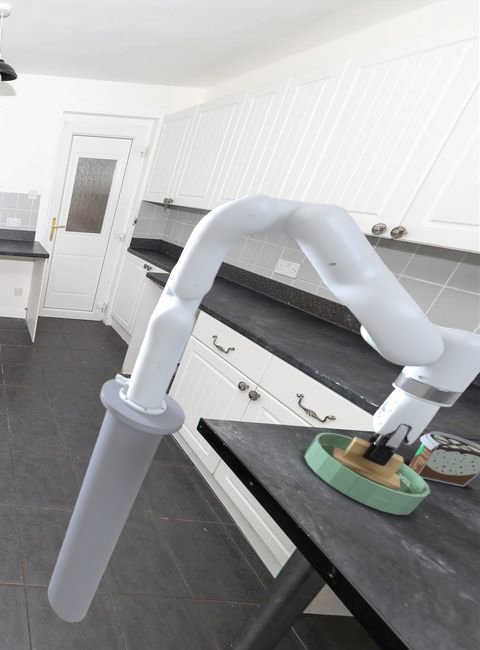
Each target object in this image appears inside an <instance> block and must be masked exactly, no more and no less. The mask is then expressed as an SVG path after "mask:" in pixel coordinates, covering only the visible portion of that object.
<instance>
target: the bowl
mask: <svg viewBox="0 0 480 650" xmlns="http://www.w3.org/2000/svg"><path fill="white" fill-rule="evenodd" d="M353 439H354V437H350V436H347V435H343V434H339V433H333V432H321V433H318V434H317V435H315V437H314V438H313V439H312V441H311V443H310V444H309V446H308V447H307V448H306V450H305V452H304V459H305V461H306V464H307V465H308V466H309V468H310V469H311V470H312V471H313V472H314V473H315V474H316V475H317V476H318V477H319V478H320V479H322V481H324V482H325V483H327V484H328V485H329V486H331V487H332V488H333V489H334V490H336V491H338V492H340V493H341V494H343V495H345V496H346V497H348V498H350V499H352V500H354V501H356V502H357V503H360V504H362V505H365V506H367V507H369V508H372V509H375V510H378V511H381V512H383V513H389V514H392V515H397V516H403V515H407V516H408V515H410V514H411V513H413V512H414V511H415V510H416V509H417V508H418V507H419V506H420V504H421V503H422V502H423V501H424V500H425V499H427V497H428V496H429V495H430V494H431V490H430V485H429V484H428V483H427V482H426V481H425V480H424V479H425V478H422V477H421V476H420V475H419V474H417V473H416V472H415V471H414V470H412V469H411V468H410V467H408V466H409V465H407V464H406V463H405V462H403V464H402V465H401V466H400V467H399V468H398V470H397V471H396V472H395V474H397V475H399V479H400V487H401V488H400V489H399V490H398V491H395V490H392V489H389V488H387V487H384V486H381V485H379V484H376V483H374V482H372V481H370V480H368V479H366V478H364V477H362V476H360V475H358V474H356V473H355V472H353V471H351V470H350V469H348V468H346V467H345V466H343V465H342V464H340V463H339V462H338V461H336V460H335V459H334V458H332V457H331V454H332V450H333V448H334V447H337V448H339V449H342V450H344V451H345V450H346V449H347V448H348V446H349V445H350V443H351V442H352V441H353Z"/></svg>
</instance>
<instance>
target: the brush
mask: <svg viewBox="0 0 480 650" xmlns="http://www.w3.org/2000/svg"><path fill="white" fill-rule="evenodd" d="M370 444H371V443H369V442H368V440H365V439H362V438H360V437H357V436H354V437H353V441H352V442H351V443H350V445H349V446H348V448H347V449H346V450H345V451H344V450H342V449H339V448H337V447H334V448H333V450H332V454H331V457H332V458H334V459H335V460H336V461H338V462H339V463H340V464H342V465H343V466H345V467H346V468H348V469H350V470H351V471H353V472H355V473H356V474H358V475H360V476H362V477H364V478H366V479H368V480H370V481H372V482H374V483H376V484H379V485H381V486H384V487H387V488H389V489H392V490H395V491H398V490H399V489H400V488H401V487H400V479H399V475H397V474H395V472H396V471H397V470H398V468H399V467H400V466H401V465H402V464H403V463H405V462H404V461H405V460H404V456H403V455H402V456H401V455H399V454H397V453H396V452H395V453H394V455H393V456H392V457H391V458H390V460H389V461H388V462H387V463H386V465H385V466H381V465H379V464H376V463H374V462H372V461H370V460H367V459H365V458H363V454H364V452H365V451H366V450H367V448H368V447H369V446H370Z"/></svg>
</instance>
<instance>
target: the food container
mask: <svg viewBox="0 0 480 650" xmlns="http://www.w3.org/2000/svg"><path fill="white" fill-rule="evenodd" d="M419 440H420V442H421V444H420V446H419V447H418V449H417V451H416V453H415V455H414V456H413V458H412V459H411V461H410V462H409V464H408V465H407V466H408V467H410V468H411V469H412V470H414V471H415V472H416V473H417V474H419V475H420V476H421V477H422V478H423V479H425V480H430V481H435V482H439V483H443V484H449V485H454V486H459V487H465V486H467V485H468V484H469V483H470V482H471V481H472V480H474V478H476V477H477V476H479V474H480V444H478V443H475V442H473V441H471V440H468V439H465V438H463V437H460V436H458V435H454V434H450V433H447V432H443V431H436V430H435V431H430V432H427V433H425V434H423V435H422V436H421V437H420V438H419Z"/></svg>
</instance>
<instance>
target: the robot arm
mask: <svg viewBox="0 0 480 650" xmlns="http://www.w3.org/2000/svg"><path fill="white" fill-rule="evenodd" d="M252 235H260V236H261V235H262V236H266V237H270V238H271V237H272V238H276V239H283V240H288V241H295V242H296V243H297V245H298V246H299V248H300V249H301V250H302V252H303V254H304V255H305V256H306V258H307V259H308V261H309V262H310V264H311V265H312V267H313V268H314V270H315V271H316V272H317V274H318V276H319V277H320V279H321V280H322V281H323V283H324V284H325V286H326V287H327V288H328V289H329V291H330V292H331V294H333V295H334V296H335V297H336V298H337V299H338V300H339V301H340V302H341V303H342V304H343V305H345V306H346V307H347V309H349V311H350V312H351V313H352V314H353V316H354V317H355V318H356V319H357V321H358V322H359V323H360V325H361V326H360V334H361V336H362V338H363V339H364V341H365V342H366V343H367V344H369V346H370V347H372V348H373V349H374V350H375V351H377V353H379V355H380V356H381V357H383V358H384V359H385V360H387V361H388V362H390V363H393V364H396V365H399V366H403V369H402V370H401V372H400V373H399V374H398V376H397V377H396V379H395V380H394V382H392V387H393V388H394V390H392V392H391V393H390V394H389V396H388V397H387V398H386V399H385V400H384V402H383V403H382V404H381V405H380V407H379V408H378V409H377V410H376V412H375V413H374V414H373V416H372V423H373V424H372V428H373V431H374V434H373V435H371V437H370V438H369V439H368V440H367V442H369V443H371V444H370V446H369V447H368V448H367V450H366V451H365V452H364V454H363V458H365V459H367V460H370V461H372V462H374V463H376V464H379V465H381V466H385V465H386V463H387V462H388V461H389V460H390V458H391V457H392V456H393V455H394V453H395V454H396V452H397V450H398V449H399V448H400V446H401V445H402V444H403V445H404V446H411V445H413V443H414V442H416V440H417V439H418V438H419V437H420V435H421V434H422V433H423V432H424V431H425V429H426V428H427V427H428V425H429V424H430V422H431V421H432V420H433V418H434V417H435V416H436V414H437V413H438V411H439V410H440V408H441V407H443V408H445V407H446V408H450V407H452V406H453V405H454V404H455V403H456V402H457V400H458V399H459V398H460V397H461V396H462V394H463V393H464V392H465V390H466V389H467V388H468V387H469V386H470V384H471V383H472V382H473V381H474V380H475V378H476V377H477V375H479V374H480V334H479V333H475V332H472V331H468V330H465V329H460V328H454V327H448V326H447V327H445V326H439V325H435V324H432V322H431V321H430V319H429V318H428V316H427V315H426V314H425V312H424V311H423V309H422V308H421V307H420V306H419V304H418V303H417V302H416V301H415V299H414V298H413V297H412V296H411V294H410V293H409V292H408V291H407V290H406V289H405V288H404V287H403V285H402V284H401V282H400V281H399V280H398V279H397V277H396V276H395V274H394V273H393V272H392V271H391V270H390V269H389V268H388V266H387V265H386V264H385V262H384V261H383V259H382V258H381V257H380V255H379V254H378V253H377V251H376V250H375V248H374V247H373V246H372V244H371V243H370V241H369V240H368V238H367V237H366V235H365V234H364V232H363V231H362V229H361V228H360V226H359V225H358V224H357V222H356V221H355V220H354V218H353V216H352V215H351V214H350V213H349V212H348V211H347V210H346V209H344V208H343V207H341V206H338V205H335V204H328V203H318V202H317V203H316V202H305V201H298V200H290V199H283V198H279V197H271V196H268V195H265V194H250V195H245V196H242V197H240V198H237V199H234V200H230V201H228V202H225V203H223V204H221V205H219V206H217V207H215V208H214V209H212V210H211V211H209V212H208V213H207V214H206V215H204V217H203V218H201V219H200V221H199V222H198V223H197V224H196V226H195V227H194V229H193V231H192V232H191V234H190V236H189V238H188V240H187V242H186V244H185V246H184V248H183V250H182V252H181V254H180V256H179V259H178V261H177V263H176V264H175V265H174V267H173V269H172V270H171V272H170V275H169V277H168V280H167V282H166V284H165V286H164V288H163V291H162V293H161V295H160V298H159V300H158V303H157V304H156V306H155V308H154V310H153V313H152V314H151V316H150V319H149V321H148V325H147V329H146V331H145V335H144V338H143V340H142V344H141V346H140V349H139V352H138V356H137V358H136V361H135V364H134V367H133V370H132V373H131V376H130V378H129V377H128V378H127V377H125V376H123V375H121V374H120V373H116V376H115V377H114V379H116V382H115V383H117V384H118V385H121V386H122V388H121V389H120V392H119V395H120V398H121V399H122V400H123V402H124V403H125V404H127V405H128V406H129V407H131V408H132V409H134V410H136V411H138V412H141V413H144V414H148V415H161V414H163V413H164V412H165V410H166V407H167V406H166V403H165V401H164V400H163V398H164V396H165V393H166V394H167V391H168V388H169V385H170V383H171V381H172V378H173V376H174V373H175V371H176V368H177V366H178V364H179V361H180V359H181V356H182V353H183V351H184V349H185V347H186V345H187V342H188V341H189V339H190V337H191V334H192V332H193V330H194V326H195V321H196V314H197V311H198V309H199V307H200V305H201V303H202V300H203V298H204V296H206V295H207V294H208V293H209V291H210V290H211V288H212V287H213V284H214V282H215V278H216V276H217V274H218V273H219V269H220V268H221V266H222V263H223V261H224V260H225V258H226V257H227V254H228V253H229V251H230V249H231V248H232V246H233V245H234V244H235V243H236V242H237V241H238V240H240V239H242V238H243V237H246V236H252Z"/></svg>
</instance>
